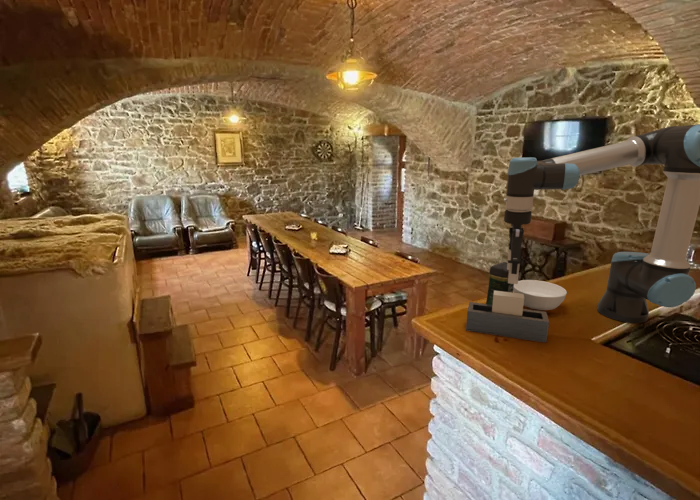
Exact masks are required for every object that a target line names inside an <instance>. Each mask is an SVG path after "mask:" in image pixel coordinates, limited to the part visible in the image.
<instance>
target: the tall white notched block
mask: <svg viewBox="0 0 700 500" xmlns="http://www.w3.org/2000/svg"><path fill="white" fill-rule="evenodd" d="M523 309H524V294H520V293H514V292H513V293H511V292H503V291H494V294H493V304H492V312H494V313H504V314H511V315H515V316H522V313H523Z"/></svg>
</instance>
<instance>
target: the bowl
mask: <svg viewBox="0 0 700 500" xmlns="http://www.w3.org/2000/svg"><path fill="white" fill-rule="evenodd" d="M513 293H520V294H524V305H523V307H527V308H528V309H531V310H535V311H550V310H555V309H556V308H558V307H559V306H561V304H562V303H563V302H564V301H565V299H566V296H567V294H568V293H567V290H566V289H565V288H564V287H563V286H561V285H559V284H556V283H553V282H548V281H544V280H537V279H536V280H535V279H523V280H518V284H514V288H513Z"/></svg>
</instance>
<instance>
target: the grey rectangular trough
mask: <svg viewBox="0 0 700 500" xmlns="http://www.w3.org/2000/svg"><path fill="white" fill-rule="evenodd" d="M467 307H468V308H467V312H466V313H467V314H466V325H465V326H466V327H465V331H468V332H473V333H480V334H485V335H487V334H488V335H492V336H493V335H494V336H498V337H507V338H512V339H520V340H526V341H532V342H537V343H539V342H540V343H545V344H546V343H547V339H548V335H549V334H548V333H549V326H550V321H549V317H548V313H547V311H544V310H536V309H527V308H523V313H522V316H515V315H511V314H504V313H494V312H492V305H489V304H486V303H480V302H472V301H469V302H468V306H467Z"/></svg>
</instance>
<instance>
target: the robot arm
mask: <svg viewBox="0 0 700 500" xmlns="http://www.w3.org/2000/svg"><path fill="white" fill-rule="evenodd" d="M628 165H630V166H632V167H639V166H645V165H661V166H663V170H662V174H664V175H665V176H666V177H667V180H666V185H665V190H664V194H663V199H662V203H661V207H660V210H659V211H660V212H659V216H658V219H657V224H656V228H655V232H654V235H653V236H654V238H653V239H652V240H653V241H652V246H651V249H650V253H647V252H646V253H645V252H640V251H637V252H635V251H618V252H615V253H613V255H612V258H611V261H610V268H609V273H608V278H607V279H608V280H607V283H606V284H607V287H606V291H605V292H604V294H602V297H601V298H600V300H599V301H598V303H597V312H598V313H599V314H600V315H602V316H603V317H604V316H605V317H607V318H610V319H612V320H614V321H620V322H624V323H633V324H640V323H645V322H648V320H649V315H650V314H649V307H648V302H650V303H652V304H655V305H658V306H660V307H663V308H676V307H680V306H682V305H683V304H684V303H687V302H688V301H689V300H690V299H691V298H692V297H693V295H694V294H695V292H696V288H697V283H696V280H695V279H694V278H693V277H692V276H691V275H690V269H691V264H690V263H689V262H688V260H687V255H688V253H689V249H690V243H691V240H692V237H693V233H694V229H695V225H696V221H697V216H698V213H699V209H700V124H691V125H673V126H667V127H663V128H658V129H655V130H652V131H648V132H645V133H641V134H637V135H633V136H630V137H628V138H627V140H625V141H622V142H617V143H612V144H608V145H604V146H603V145H602V146H599V147H595V148H590V149H586V150H582V151H577V152H574V153H570V154H569V153H568V154H565V155H560V156H556V157H552V158H546V159H544V160H537V158H536V157H531V156H529V157H513V158H511V159H510V160H509V163H508V168H507V180H506V182H507V183H506V196H505V198H503V202H504V203H505V208H504V209H505V210H504V215H503V217H504V218H503V221H504V223H506V224H510V226H511V227H509V228H508V235H509V236H508V237H509V242H508V253H507V262H506V263H507V270H509V275H508V283H511V284H518V281H519V275H520V272H519V271H520V265H521V262H522V260H521V258H522V257H521V256H522V255H521V254H522V253H521V252H522V244H523V238H524V228H523V227H522V225H529V224H531V222H532V213H533V212H532V211H531V210H532V209H533V205H534V197H535V196H534V195H535V193H534V192H535V191H539V190H546V191H547V190H561V191H563V190H571V189H573V188H575V187H576V186H577V185H578V183H579V180H580V176H584V175H588V174H593V173H597V172H601V171H607V170H611V169H615V168H620V167H625V166H628ZM647 301H648V302H647Z"/></svg>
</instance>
